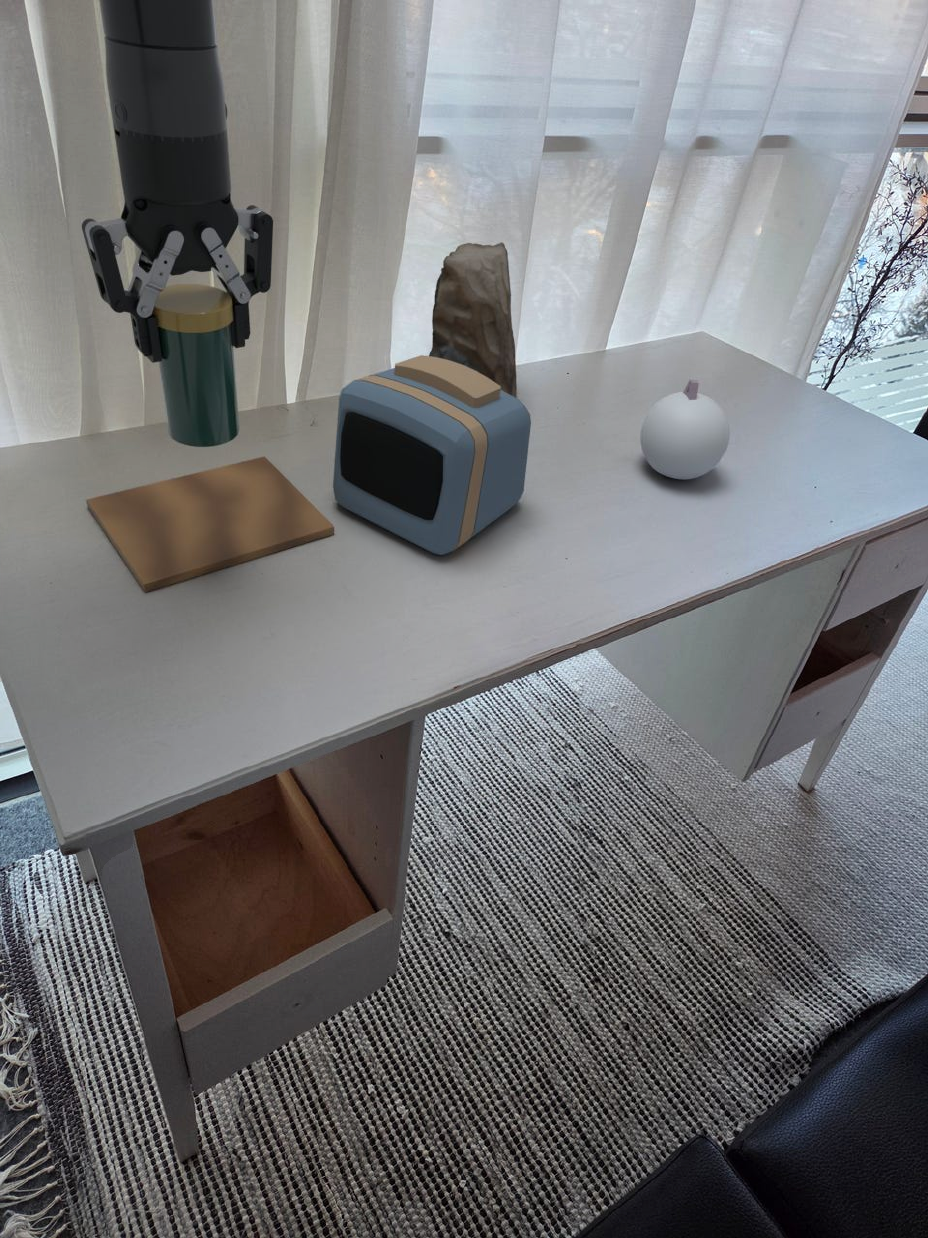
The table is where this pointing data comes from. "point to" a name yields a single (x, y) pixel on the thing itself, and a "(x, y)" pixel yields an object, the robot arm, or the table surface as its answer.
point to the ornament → (685, 434)
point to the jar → (197, 364)
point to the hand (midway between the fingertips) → (195, 350)
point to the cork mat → (206, 521)
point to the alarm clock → (430, 451)
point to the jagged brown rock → (476, 313)
